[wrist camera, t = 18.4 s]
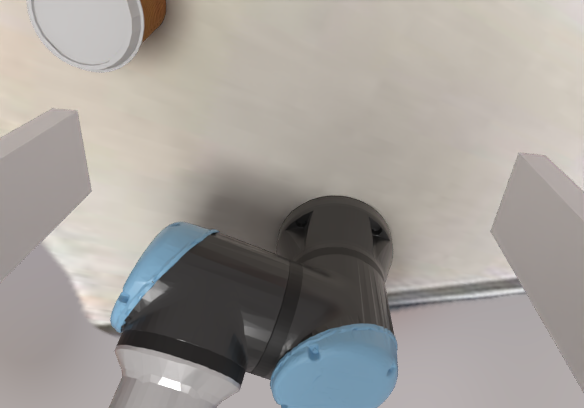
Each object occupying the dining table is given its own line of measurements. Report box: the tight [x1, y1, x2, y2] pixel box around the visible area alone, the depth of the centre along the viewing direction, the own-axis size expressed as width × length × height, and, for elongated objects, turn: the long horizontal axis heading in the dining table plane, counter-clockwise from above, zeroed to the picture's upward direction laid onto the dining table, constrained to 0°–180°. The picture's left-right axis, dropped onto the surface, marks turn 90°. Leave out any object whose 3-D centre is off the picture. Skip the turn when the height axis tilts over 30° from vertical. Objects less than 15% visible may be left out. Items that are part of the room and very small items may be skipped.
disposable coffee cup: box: [27, 0, 166, 73], centre depth 41 cm, size 10×10×12 cm
